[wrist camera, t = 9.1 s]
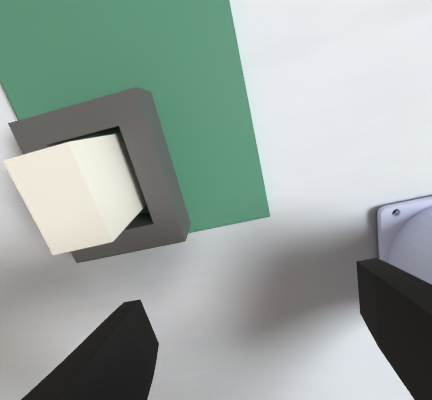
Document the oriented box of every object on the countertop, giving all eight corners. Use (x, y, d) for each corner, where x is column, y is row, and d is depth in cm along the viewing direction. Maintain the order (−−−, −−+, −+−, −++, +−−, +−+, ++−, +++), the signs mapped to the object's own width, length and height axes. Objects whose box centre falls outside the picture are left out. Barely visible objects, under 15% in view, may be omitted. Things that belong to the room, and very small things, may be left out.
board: (213, -79, 12) (209, -136, 9) (269, 213, 17) (277, 233, 14) (-28, 7, 14) (-93, -20, 11) (86, 251, 19) (61, 275, 16)
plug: (127, 131, 15) (68, 141, 10) (151, 198, 17) (112, 241, 11) (83, 143, 16) (2, 160, 10) (111, 208, 17) (53, 255, 11)
